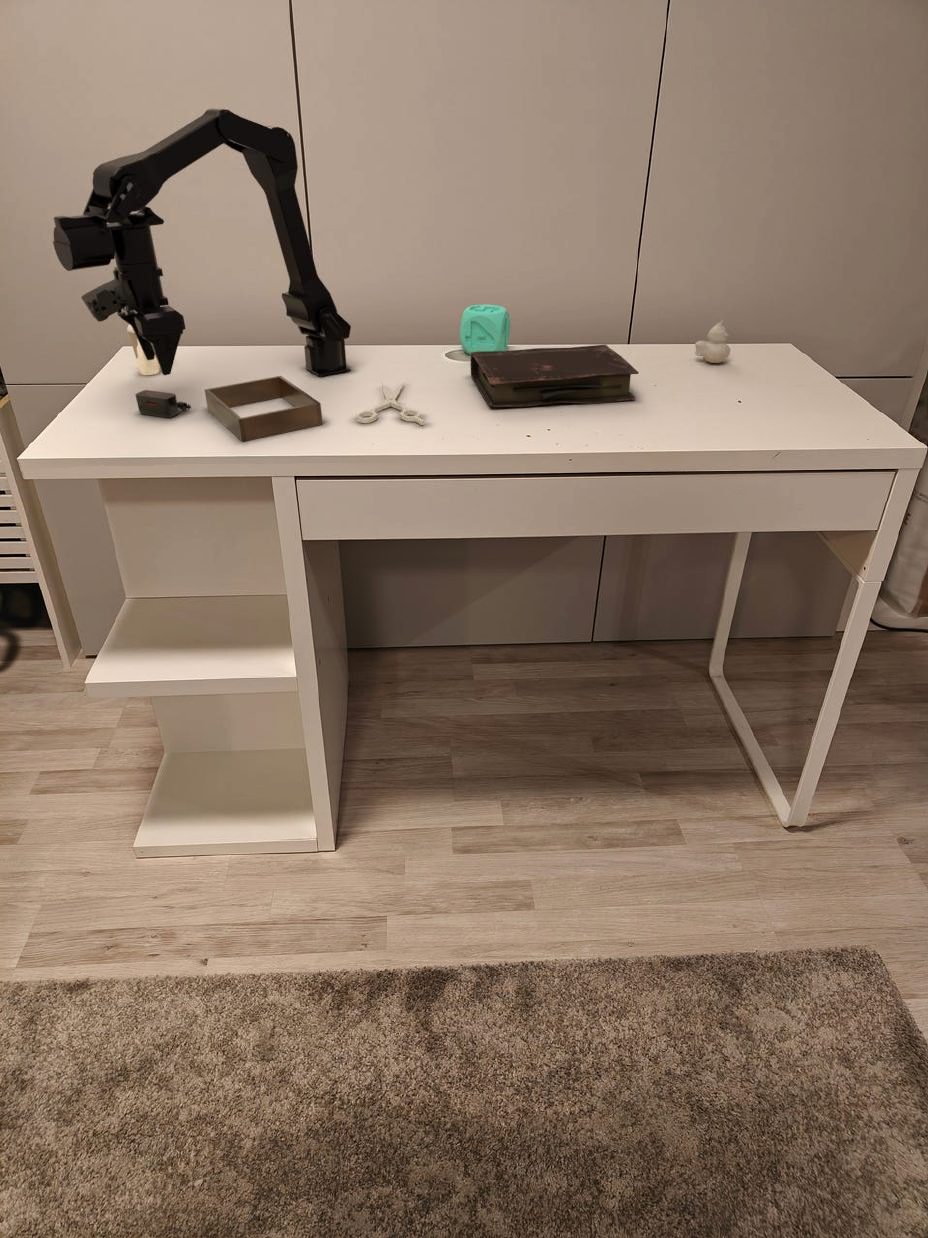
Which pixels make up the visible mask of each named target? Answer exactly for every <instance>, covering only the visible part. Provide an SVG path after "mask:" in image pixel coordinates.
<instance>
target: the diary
mask: <svg viewBox="0 0 928 1238" xmlns="http://www.w3.org/2000/svg"><path fill="white" fill-rule="evenodd" d="M632 375H639V371H638V370H637V369H636V368H635V367H634V366H633V365H631V364H630V363H629V362H628V361H627V360H626V359H625V358H624V357H623V356H622V355H620V354H619V353H618V352H616V351H615V350H614V349H612V348H611V347H609V346H608V345H607V344H597V345H586V346H573V347H536V348H524V349H514V350H506V351H476V352H471V355H470V377H471V378H472V380H473V382H474V384H475V386H476V387H477V389H478V390H479V392H480V394H481V395H482V397H483V399H484V400H485V402H486V404H487V405H488V406H490V407H494V408H506V407H507V408H510V407H511V408H512V407H517V408H518V407H533V406H542V405H552V404H559V403H560V404H562V403H563V404H591V405H592V404H593V405H594V404H595V405H596V404H606V403H614V402H625V401H632V400H633V401H634V400H636V397H635V396H634V395H633V393H632V392H630V386H631V376H632Z"/></svg>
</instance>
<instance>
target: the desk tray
mask: <svg viewBox="0 0 928 1238" xmlns="http://www.w3.org/2000/svg"><path fill="white" fill-rule="evenodd" d="M204 395H205V400H206V406H207V411H208V412H209V413H211V415H213V416H214V417H215V418H216V419H217V420H218V421H219V422H220V423H221V424H222V425H223V426H224V427H226V428H227V429H228V430H229V431H230V432H231V433H232V434H233V435H234V436H236V438H237V439H239V440H240V441H241V442H244V443H245V442H248V441H249V442H250V441H252V440H257V439H262V438H267V437H271V436H276V435H282V434H285V433H290V432H295V431H299V430H304V429H308V428H313V427H318V426H323V424H324V423H323V414H322V404H321V402H320V401H318V400H316V398H314V397H312V396H311V395H310V394H308V393H306V392H305V391H304V390H302V389H301V388H300V387H298V386H297V385H295V384H294V383H293V382H291V381H289V380H288V379H286V378H285V377H284V376H282V375H278V376H270V377H266V378H260V379H255V380H249V381H243V382H237V383H233V384H226V385H222V386H221V385H220V386H217V387H216V386H215V387H211V388H205V389H204ZM280 398H282V399H284V400H285V401H286V402H287V403H289V404H290V405H292V407H289V408H288V407H287V408H284V409H278V410H273V411H268V412H263V413H259V414H252V415H247V416H244V417H240V415H239V414H237V413H236V412H235V410H233V409H232V408H234V407H239V406H244V405H245V406H246V405H249V404H255V403H259V402H264V401H270V400H274V399H280Z"/></svg>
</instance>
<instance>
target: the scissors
mask: <svg viewBox="0 0 928 1238" xmlns="http://www.w3.org/2000/svg"><path fill="white" fill-rule="evenodd" d="M404 384H405V382H402V384H400V385H399V386H398V387H397V388H396V389H395V391H394V392H393V393H390V391H389V390H388V389H387V387H386V386H385V385H384V384H383V383H381V386H382V390H383V395H384V398H385V399H384V400H383V402H382V403H381V404H379V405H376V406H374V407H373V409H369V410H364V411H361V412H358V413H357V414H356V421H357V422H359V423H362V424H369V423H372V422H375V421H376V420H377V419H378V418H379V415H378V412H380V411H382V410H385V409H388V408H390V407H392V408H394V409H396V410H399V411H400V412H399V415H398V416H399V418H400V419H401V420H403V421H406V422H415V423H418V424H419V425H420V426H423V425H425V419H422V418H421V411H419V410H417V409H412V408H411V409H410V408H407V407H405V405H403V404H399V403H398V402H397V400H396V399H397V397H398V396H399V394H400V393H401V391H402V389H403V387H404Z"/></svg>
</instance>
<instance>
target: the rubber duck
mask: <svg viewBox="0 0 928 1238" xmlns="http://www.w3.org/2000/svg"><path fill="white" fill-rule="evenodd" d="M729 336H730V335H729V334H728V333H727V331H726V327H725V326H724V325H723V318H722V319H721V320H720V321H719V322H717V323H716V324H715V325H714V326H712V328H711V329H710V330H709V332H708V333H707V339H708V340H707V341H705V340H698V341H696V342H695V344H694V345H695V353H694V354H695V355H696V356H697V357H703V359H704V360H705V361H706V362H708V363H710V364H719V363H722V362H725V360H726V359H728V358H729V356H730V355H731V348H730V346H729V344H727V342H726V341H727V338H728V337H729Z"/></svg>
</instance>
